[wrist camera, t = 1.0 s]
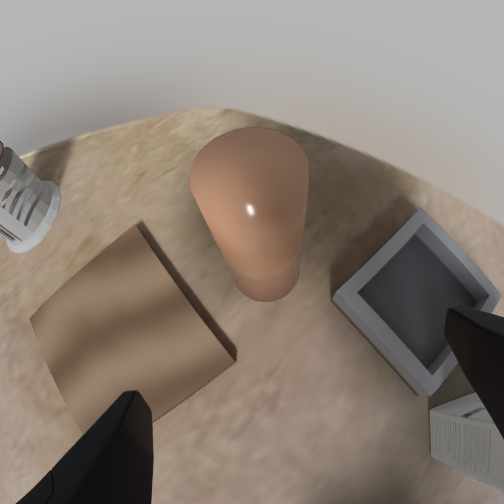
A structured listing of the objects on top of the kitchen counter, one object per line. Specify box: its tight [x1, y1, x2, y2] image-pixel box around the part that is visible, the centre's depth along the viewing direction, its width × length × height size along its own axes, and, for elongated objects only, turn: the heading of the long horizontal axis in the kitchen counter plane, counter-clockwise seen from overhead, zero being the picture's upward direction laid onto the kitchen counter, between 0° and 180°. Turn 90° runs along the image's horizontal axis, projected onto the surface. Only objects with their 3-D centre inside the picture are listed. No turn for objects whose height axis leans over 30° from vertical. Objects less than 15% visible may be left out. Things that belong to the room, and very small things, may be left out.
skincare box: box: [430, 392, 504, 492], centre depth 11 cm, size 6×4×12 cm
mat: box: [30, 225, 236, 435], centre depth 22 cm, size 14×14×1 cm
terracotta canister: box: [189, 127, 310, 302], centre depth 18 cm, size 5×5×12 cm
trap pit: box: [331, 208, 502, 396], centre depth 20 cm, size 10×10×2 cm
